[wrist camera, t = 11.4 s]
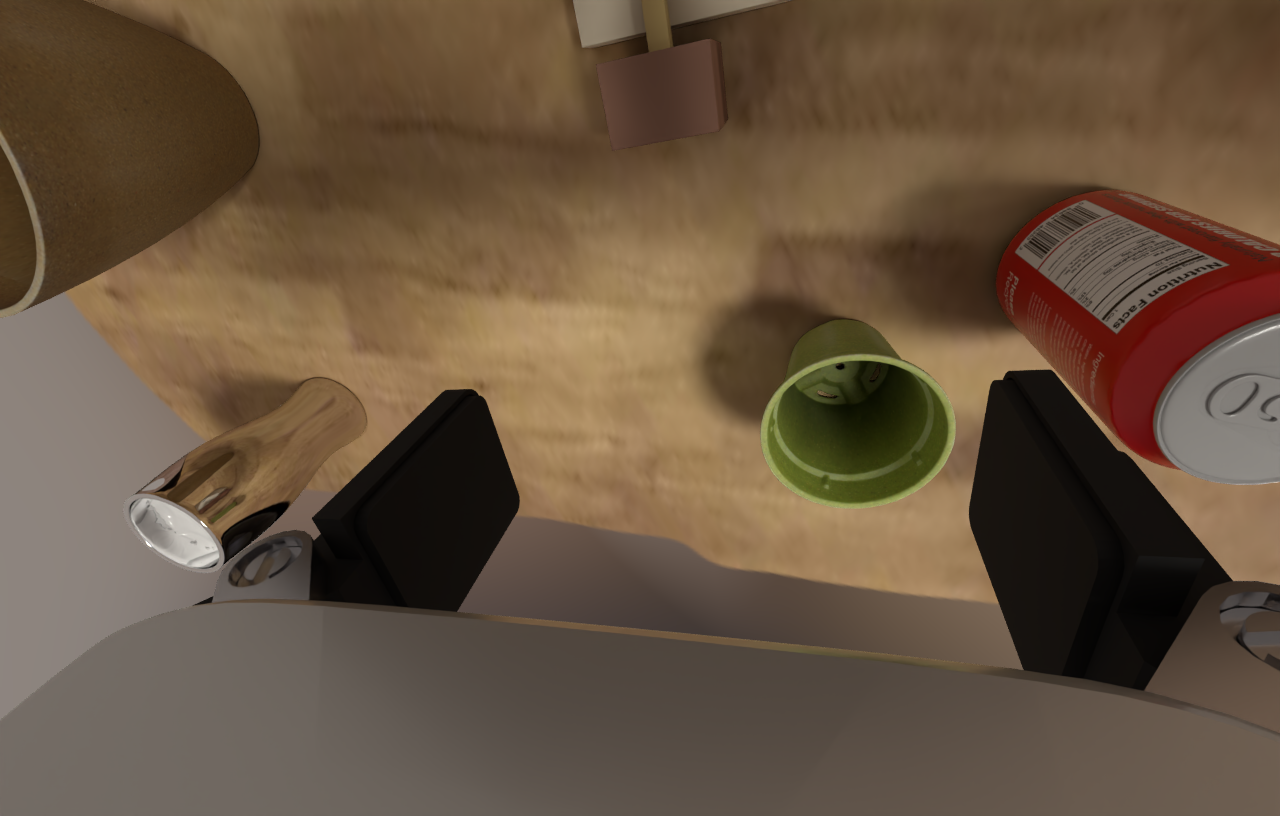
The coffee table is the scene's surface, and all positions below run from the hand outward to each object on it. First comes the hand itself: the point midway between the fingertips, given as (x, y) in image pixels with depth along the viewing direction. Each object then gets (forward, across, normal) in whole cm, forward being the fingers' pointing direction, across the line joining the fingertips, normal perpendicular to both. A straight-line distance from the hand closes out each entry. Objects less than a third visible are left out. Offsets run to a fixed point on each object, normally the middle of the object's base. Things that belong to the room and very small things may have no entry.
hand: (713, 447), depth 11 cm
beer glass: (+24, +36, +13) cm, 45 cm away
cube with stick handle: (+25, +4, -9) cm, 27 cm away
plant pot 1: (+24, +34, -9) cm, 43 cm away
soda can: (+26, -16, +6) cm, 31 cm away
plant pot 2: (+25, -4, +11) cm, 28 cm away
